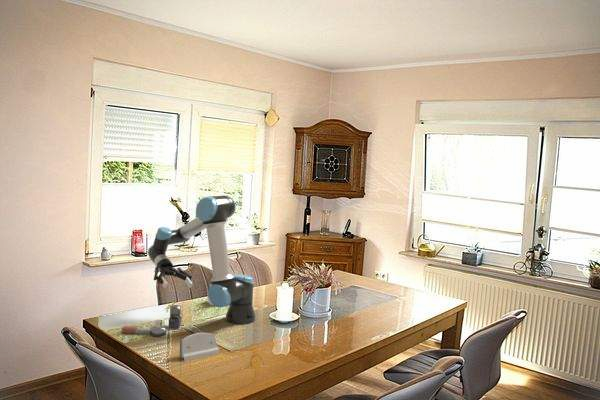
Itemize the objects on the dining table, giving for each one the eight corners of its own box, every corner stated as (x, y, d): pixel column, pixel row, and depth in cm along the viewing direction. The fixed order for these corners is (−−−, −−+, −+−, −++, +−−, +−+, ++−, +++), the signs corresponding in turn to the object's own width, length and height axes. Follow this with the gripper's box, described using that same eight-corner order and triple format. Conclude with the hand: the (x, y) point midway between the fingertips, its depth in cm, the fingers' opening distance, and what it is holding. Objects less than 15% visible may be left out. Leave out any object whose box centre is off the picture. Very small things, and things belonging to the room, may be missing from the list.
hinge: (183, 361, 216) (181, 336, 218) (179, 361, 219) (176, 336, 221) (220, 353, 226) (217, 329, 228) (215, 353, 229) (212, 330, 231)
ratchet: (167, 331, 248) (168, 318, 248) (163, 337, 241) (164, 323, 241) (125, 329, 248) (125, 316, 248) (120, 334, 241) (120, 321, 241)
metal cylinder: (181, 325, 258) (181, 305, 257) (178, 328, 253) (179, 308, 252) (171, 324, 258) (171, 304, 257) (168, 328, 253) (169, 308, 252)
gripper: (183, 271, 283) (199, 292, 267) (138, 270, 267) (152, 293, 251) (187, 259, 281) (203, 279, 265) (142, 257, 265) (157, 279, 249)
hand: (179, 286), depth 258 cm, fingers open, 13 cm apart
